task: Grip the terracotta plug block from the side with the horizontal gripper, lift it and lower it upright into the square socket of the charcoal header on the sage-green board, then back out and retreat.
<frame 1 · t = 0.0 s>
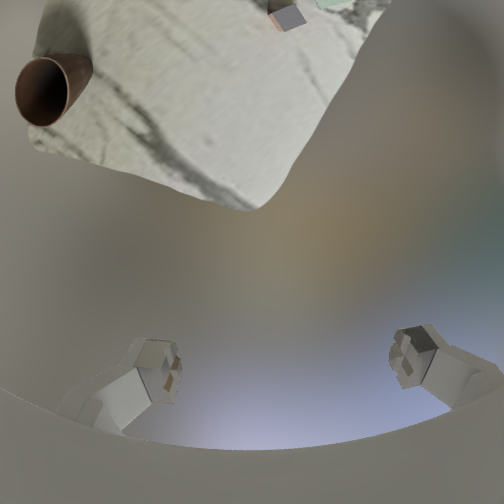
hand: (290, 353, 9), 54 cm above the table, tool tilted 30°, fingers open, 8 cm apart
plant pot: (81, 71, 41), on the table
plug: (282, 19, 37), on the table
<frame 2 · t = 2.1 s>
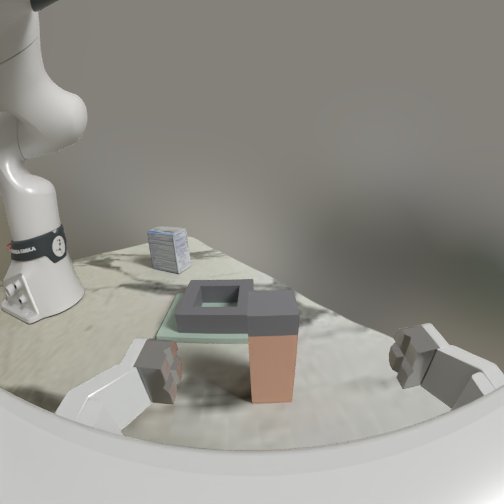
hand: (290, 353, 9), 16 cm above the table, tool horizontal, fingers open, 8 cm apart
medicine box: (171, 268, 58), on the table
plug: (271, 388, 26), on the table
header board: (219, 317, 39), on the table
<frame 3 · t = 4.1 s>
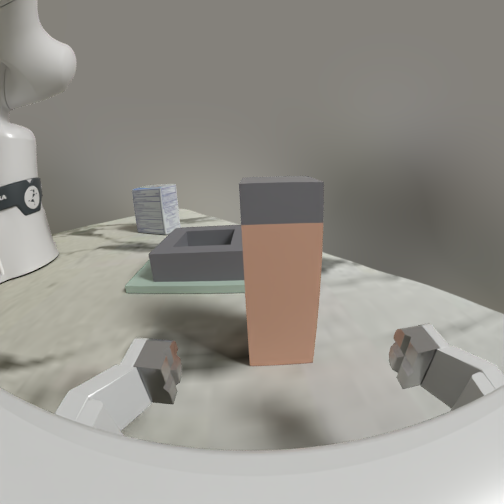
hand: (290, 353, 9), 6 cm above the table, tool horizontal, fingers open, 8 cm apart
medicine box: (158, 232, 50), on the table
plug: (279, 345, 18), on the table
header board: (209, 268, 31), on the table
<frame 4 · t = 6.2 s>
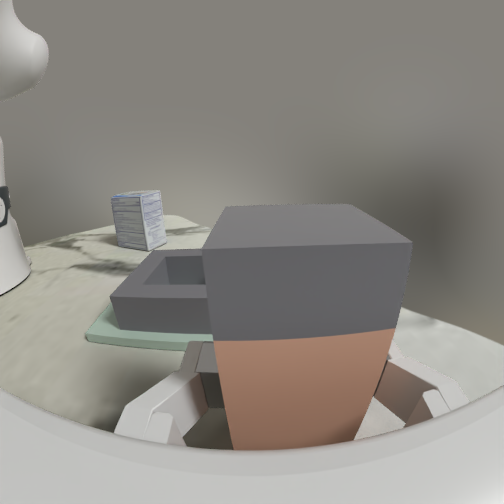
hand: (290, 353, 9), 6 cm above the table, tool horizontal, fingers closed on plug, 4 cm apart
medicine box: (142, 246, 42), on the table
plug: (285, 451, 10), on the table, touching gripper
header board: (193, 307, 24), on the table
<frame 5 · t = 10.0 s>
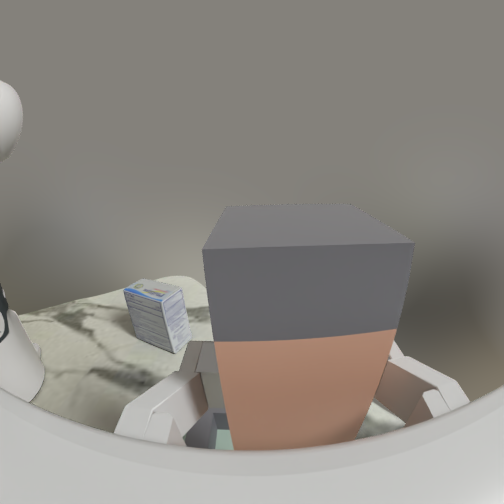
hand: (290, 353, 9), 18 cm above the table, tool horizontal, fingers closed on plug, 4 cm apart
medicine box: (164, 340, 38), on the table
plug: (285, 451, 10), point 12 cm above the table, touching gripper
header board: (248, 458, 19), on the table
when the fingers open (8 cm above the table, at t = 13.6 s): plug drops 2 cm, resting on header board.
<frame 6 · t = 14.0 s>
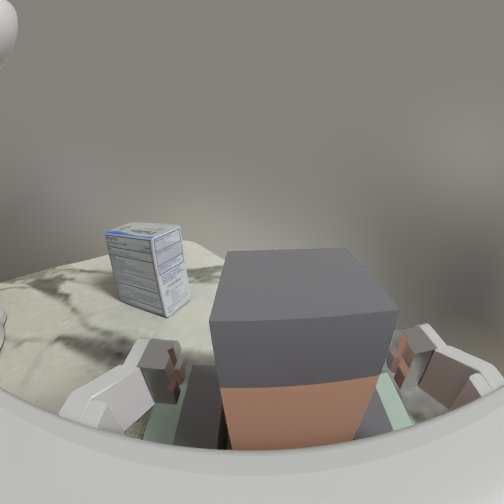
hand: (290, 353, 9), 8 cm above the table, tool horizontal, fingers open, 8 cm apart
medicine box: (154, 303, 29), on the table
plug: (282, 462, 11), point 1 cm above the table, touching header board
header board: (282, 467, 11), on the table
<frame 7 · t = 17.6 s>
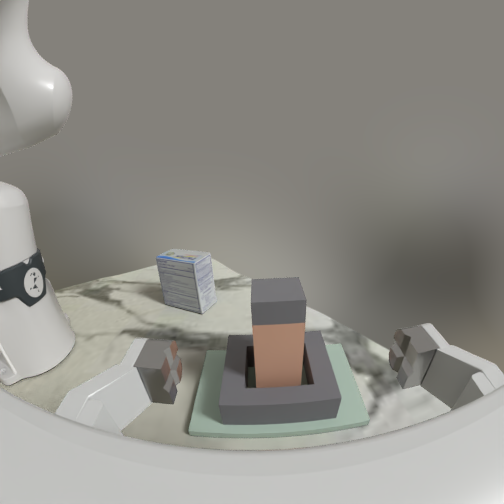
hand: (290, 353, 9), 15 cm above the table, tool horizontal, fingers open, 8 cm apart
medicine box: (190, 305, 43), on the table
plug: (277, 385, 25), point 1 cm above the table, touching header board
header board: (277, 390, 25), on the table
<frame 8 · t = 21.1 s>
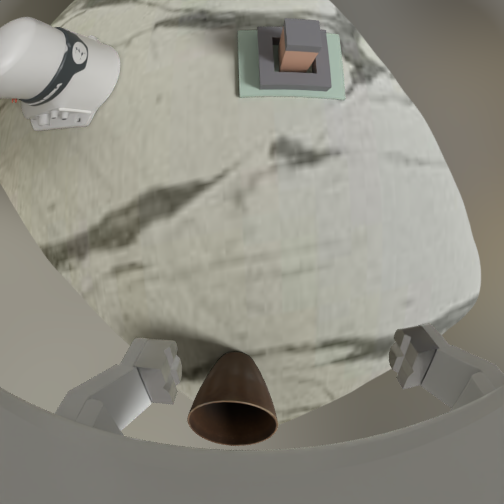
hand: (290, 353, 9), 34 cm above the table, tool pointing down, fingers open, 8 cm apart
plant pot: (237, 363, 53), on the table
plug: (291, 61, 33), point 1 cm above the table, touching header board
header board: (291, 62, 33), on the table
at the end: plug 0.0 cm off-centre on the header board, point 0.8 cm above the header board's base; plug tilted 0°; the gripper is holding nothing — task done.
